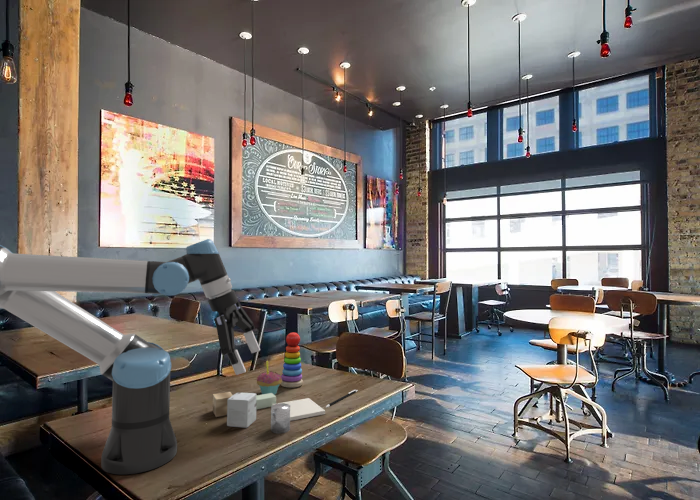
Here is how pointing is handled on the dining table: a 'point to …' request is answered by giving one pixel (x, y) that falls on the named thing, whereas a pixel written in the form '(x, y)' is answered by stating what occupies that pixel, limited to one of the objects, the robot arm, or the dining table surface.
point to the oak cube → (220, 403)
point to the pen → (342, 398)
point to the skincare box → (241, 409)
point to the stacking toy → (292, 363)
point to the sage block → (265, 400)
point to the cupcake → (269, 381)
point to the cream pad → (304, 409)
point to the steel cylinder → (280, 418)
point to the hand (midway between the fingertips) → (249, 361)
